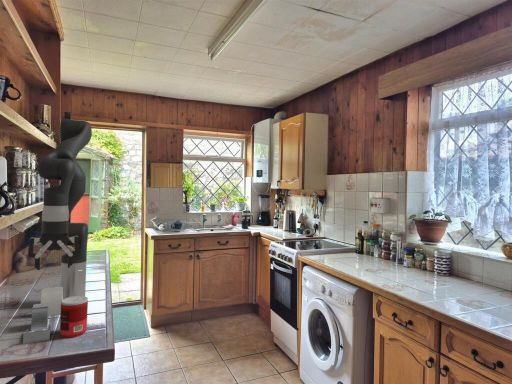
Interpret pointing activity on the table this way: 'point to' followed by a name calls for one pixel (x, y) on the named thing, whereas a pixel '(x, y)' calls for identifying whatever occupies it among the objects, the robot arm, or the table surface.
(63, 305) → the canned food
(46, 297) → the tea bag
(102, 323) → the table surface
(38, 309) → the block
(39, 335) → the rail channel
